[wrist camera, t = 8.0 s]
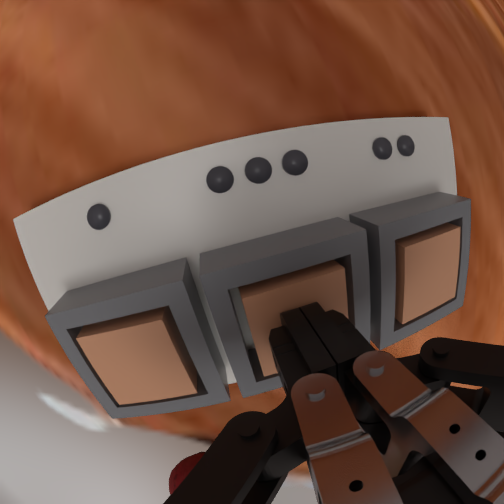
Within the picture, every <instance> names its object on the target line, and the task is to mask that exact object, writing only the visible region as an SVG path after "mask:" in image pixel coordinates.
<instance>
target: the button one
mask: <svg viewBox="0 0 504 504" xmlns="http://www.w3.org/2000/svg"><path fill="white" fill-rule="evenodd" d="M76 339H77V341H78V343H79V345H80V346H81V348H82V350H83V351H84V353H85V355H86V356H87V358H88V360H89V361H90V363H91V364H92V366H93V368H94V369H95V371H96V372H97V374H98V375H99V377H100V378H101V380H102V381H103V383H104V384H105V386H106V387H107V389H108V390H109V391H110V393H111V394H112V396H113V397H114V398H115V400H116V401H117V402H118V404H119V405H122V404H131V403H139V402H147V401H154V400H161V399H167V398H173V397H179V396H184V395H190V394H195V393H197V369H196V367H195V365H194V363H193V360H192V358H191V356H190V354H189V352H188V349H187V347H186V345H185V343H184V340H183V338H182V336H181V334H180V331H179V329H178V327H177V324H176V322H175V319H174V317H173V314H172V312H171V310H170V307H169V305H168V306H164V307H160V308H156V309H152V310H148V311H144V312H140V313H135V314H131V315H127V316H123V317H119V318H114V319H110V320H106V321H101V322H97V323H93V324H88V325H84V326H83V328H82V329H81V331H80V333H79V334H78V336H77V338H76Z"/></svg>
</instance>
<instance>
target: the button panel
mask: <svg viewBox="0 0 504 504" xmlns="http://www.w3.org/2000/svg"><path fill="white" fill-rule="evenodd" d="M13 221H14V224H15V228H16V231H17V234H18V237H19V240H20V243H21V246H22V249H23V252H24V255H25V257H26V260H27V263H28V265H29V268H30V270H31V273H32V275H33V278H34V280H35V282H36V285H37V287H38V289H39V292H40V294H41V296H42V298H43V300H44V302H45V305H46V307H47V309H48V311H49V312H48V313H47V314H46V315H45V317H46V319H47V321H48V323H49V325H50V327H51V329H52V331H53V332H54V334H55V336H56V338H57V339H58V341H59V343H60V345H61V346H62V348H63V350H64V351H65V353H66V355H67V356H68V358H69V359H70V361H71V363H72V364H73V366H74V367H75V369H76V370H77V372H78V373H79V375H80V376H81V378H82V379H83V381H84V382H85V384H86V385H87V386H88V388H89V389H90V391H91V392H92V393H93V395H94V396H95V397H96V399H97V400H98V401H99V403H100V404H101V405H102V406H103V408H104V409H105V410H106V411H107V413H108V414H109V415H110V416H111V418H112V419H114V418H127V417H137V416H147V415H155V414H162V413H169V412H176V411H182V410H188V409H194V408H199V407H204V406H209V405H214V404H219V403H223V402H228V401H231V400H230V394H229V387H228V384H231V383H235V382H237V384H238V386H239V389H240V391H241V394H242V396H243V398H244V397H248V396H252V395H256V394H260V393H263V392H267V391H270V390H274V389H277V388H280V387H283V385H282V383H281V380H280V377H279V375H278V373H275V374H272V375H268V376H265V377H264V375H263V372H262V368H261V365H260V362H259V359H258V355H257V352H256V349H255V345H254V342H253V338H252V335H251V331H250V328H249V324H248V321H247V317H246V314H245V310H244V307H243V303H242V300H241V296H240V292H239V289H238V287H240V286H244V285H247V284H251V283H254V282H258V281H261V280H265V279H269V278H272V277H276V276H279V275H282V274H286V273H289V272H293V271H296V270H300V269H303V268H306V267H310V266H313V265H317V264H320V263H323V262H326V261H330V260H333V259H334V260H335V261H336V262H337V263H339V264H340V265H341V266H343V267H344V268H345V277H346V290H347V304H348V320H349V321H350V323H352V324H353V325H354V326H355V328H356V329H357V330H358V331H359V332H360V333H361V334H362V335H363V336H364V337H365V339H366V340H367V341H368V342H369V343H370V340H371V341H372V342H373V343H374V344H375V345H376V346H377V348H378V349H379V350H381V349H383V348H385V347H388V346H390V345H392V344H394V343H396V342H398V341H400V340H402V339H404V338H406V337H408V336H410V335H412V334H414V333H416V332H418V331H420V330H422V329H423V328H425V327H427V326H429V325H431V324H433V323H434V322H436V321H438V320H440V319H441V318H443V317H445V316H447V315H448V314H450V313H452V312H453V311H455V310H457V309H458V308H460V307H461V306H463V301H464V294H465V288H466V280H467V272H468V262H469V249H470V229H471V199H469V198H465V197H461V196H457V185H456V171H455V161H454V152H453V144H452V137H451V131H450V125H449V119H448V117H397V118H377V119H362V120H350V121H340V122H331V123H323V124H315V125H308V126H301V127H294V128H288V129H282V130H276V131H270V132H265V133H260V134H255V135H250V136H245V137H240V138H236V139H231V140H227V141H223V142H218V143H214V144H210V145H206V146H202V147H199V148H195V149H191V150H187V151H184V152H180V153H177V154H173V155H170V156H167V157H163V158H160V159H157V160H154V161H151V162H147V163H144V164H141V165H138V166H135V167H132V168H130V169H127V170H124V171H121V172H118V173H116V174H113V175H110V176H108V177H105V178H102V179H100V180H97V181H95V182H92V183H90V184H87V185H85V186H82V187H80V188H78V189H75V190H73V191H71V192H68V193H66V194H64V195H61V196H59V197H57V198H55V199H53V200H51V201H48V202H46V203H44V204H42V205H40V206H38V207H36V208H34V209H32V210H30V211H28V212H26V213H24V214H22V215H20V216H18V217H16V218H15V219H13ZM447 222H448V223H450V224H453V225H456V226H459V227H460V251H459V265H458V276H457V284H456V292H455V297H454V298H452V299H450V300H448V301H447V302H445V303H443V304H441V305H439V306H437V307H436V308H434V309H432V310H430V311H428V312H426V313H424V314H422V315H420V316H418V317H416V318H414V319H412V320H410V321H408V322H406V323H404V324H401V323H400V322H399V321H398V320H397V319H396V318H395V295H396V255H395V240H396V239H399V238H402V237H405V236H408V235H411V234H414V233H417V232H420V231H423V230H426V229H429V228H432V227H435V226H438V225H441V224H444V223H447ZM168 305H169V307H170V310H171V312H172V314H173V317H174V319H175V322H176V324H177V327H178V329H179V331H180V334H181V336H182V338H183V340H184V343H185V345H186V347H187V349H188V352H189V354H190V356H191V358H192V360H193V363H194V365H195V367H196V369H197V393H195V394H190V395H184V396H179V397H173V398H167V399H161V400H154V401H147V402H139V403H131V404H122V405H119V404H118V402H117V401H116V400H115V398H114V397H113V396H112V394H111V393H110V391H109V390H108V389H107V387H106V386H105V384H104V383H103V381H102V380H101V378H100V377H99V375H98V374H97V372H96V371H95V369H94V368H93V366H92V364H91V363H90V361H89V360H88V358H87V356H86V355H85V353H84V351H83V350H82V348H81V346H80V345H79V343H78V341H77V339H76V338H77V336H78V334H79V333H80V331H81V329H82V328H83V326H84V325H88V324H93V323H97V322H101V321H106V320H110V319H114V318H119V317H123V316H127V315H131V314H135V313H140V312H144V311H148V310H152V309H156V308H160V307H164V306H168Z"/></svg>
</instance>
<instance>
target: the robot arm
mask: <svg viewBox="0 0 504 504" xmlns="http://www.w3.org/2000/svg"><path fill="white" fill-rule="evenodd" d="M280 319H281V324H282V326H280V327H277V328H274V329H271V331H270V335H269V343H270V347H271V351H272V355H273V359H274V363H275V367H276V370H277V372H278V375H279V377H280V380H281V383H282V385H283V388H284V390H285V393H286V398H285V399H284V401H283V402H282V403H281V404H280V405H279V406H278V407H277V408H275V409H274V410H272V411H270V412H269V413H267V414H265V413H262V412H257V411H250V412H244V413H241V414H239V415H237V416H235V417H233V418H232V419H231V420H230V421H229V422H228V423H227V424H226V426H225V427H224V429H223V430H222V431H221V433H220V434H219V435H218V437H217V438H216V439H215V441H214V442H213V443H212V445H211V446H210V447H209V449H208V450H207V451H206V452H205V454H204V455H203V456H202V458H201V459H200V460H199V461H198V463H197V464H196V465H195V466H194V468H193V469H192V470H191V471H190V473H189V474H188V475H187V476H186V478H185V479H184V480H183V481H182V482H181V484H180V485H179V486H178V487H177V488H176V490H175V491H174V492H173V493H172V494H171V495H170V496H169V498H168V499H167V500H166V501H165V502H164V503H163V504H271V503H272V501H273V499H274V498H275V496H276V494H277V493H278V491H279V489H280V487H281V486H282V484H283V482H284V480H285V479H286V477H287V475H288V472H289V471H290V470H292V469H294V468H295V467H297V466H298V465H300V464H301V463H303V462H304V461H307V465H308V468H309V472H310V475H311V479H312V483H313V486H314V490H315V494H316V498H317V502H318V504H504V346H502V345H493V344H485V343H478V342H470V341H463V340H456V339H450V338H442V337H437V338H432V339H430V340H428V341H426V342H425V343H424V344H423V345H422V347H421V350H420V354H416V355H412V356H407V357H402V358H395V357H394V356H393V355H391V354H390V353H388V352H385V351H378V350H375V349H374V348H373V347H372V345H371V344H370V343H369V342H368V341H367V340H366V339H365V337H364V336H363V335H362V334H361V333H360V332H359V331H358V330H357V329H356V328H355V326H354V325H353V324H352V323H350V321H349V320H348V318H347V317H346V316H345V315H344V314H342V313H340V312H338V311H336V310H333V309H332V310H329V311H326V312H325V310H324V309H323V308H322V307H321V306H320V304H319V303H318V302H314V303H311V304H307V305H304V306H301V307H299V308H295V309H292V310H289V311H285V312H282V313H280ZM451 382H455V383H461V384H468V385H474V386H481V387H482V388H480V389H477V390H474V389H467V388H461V387H455V386H450V384H451ZM499 431H500V432H499Z"/></svg>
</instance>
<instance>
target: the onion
mask: <svg viewBox="0 0 504 504" xmlns="http://www.w3.org/2000/svg"><path fill="white" fill-rule="evenodd" d="M204 454H205V452H199V453H197V454H194V455H192V456H189V457H187V458H185V459H184V460H182V461H181V462H180V463H179V464H177V465H176V467H175V468H174V469H173V470H172V472H171V475H170V478H169V492H170V494H172V493H173V492H174V491H175V490H176V488H177V487H178V486H179V485H180V484H181V482H182V481H183V480H184V479H185V478H186V476H187V475H188V474H189V473H190V471H191V470H192V469H193V468H194V466H195V465H196V464H197V463H198V461H199V460H200V459H201V458H202V456H203V455H204Z"/></svg>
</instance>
